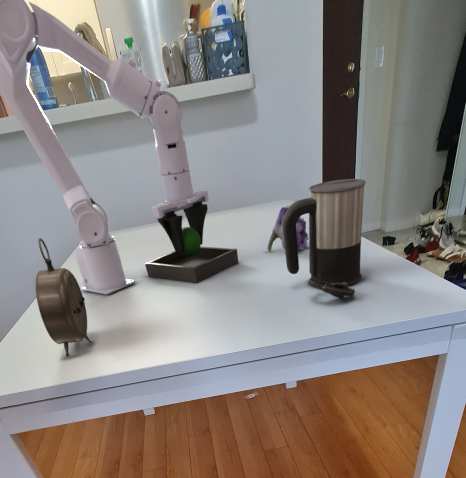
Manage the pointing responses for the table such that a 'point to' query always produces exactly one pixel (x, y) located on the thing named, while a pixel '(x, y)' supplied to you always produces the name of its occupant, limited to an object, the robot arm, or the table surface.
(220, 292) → the table surface
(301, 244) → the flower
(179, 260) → the tray
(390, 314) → the table surface
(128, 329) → the table surface
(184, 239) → the green ball
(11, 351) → the table surface
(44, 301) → the alarm clock
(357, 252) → the milk frother
